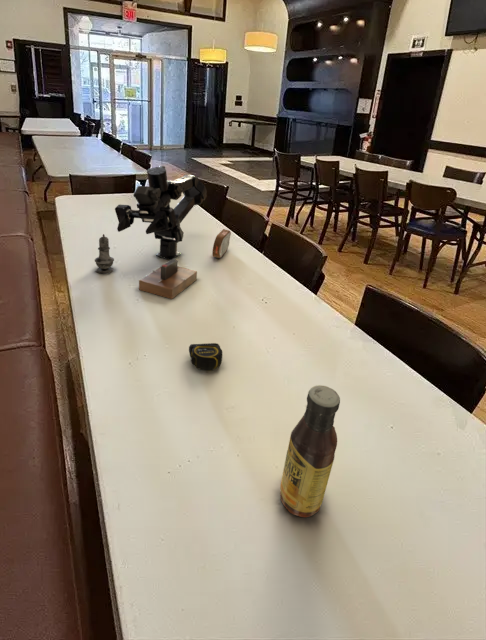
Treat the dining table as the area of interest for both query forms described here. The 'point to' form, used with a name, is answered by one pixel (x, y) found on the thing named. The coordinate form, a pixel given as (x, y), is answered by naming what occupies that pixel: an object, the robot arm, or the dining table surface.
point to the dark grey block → (169, 269)
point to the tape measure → (205, 356)
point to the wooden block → (168, 282)
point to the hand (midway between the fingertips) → (132, 231)
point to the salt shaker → (104, 257)
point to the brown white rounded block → (221, 243)
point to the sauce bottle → (310, 454)
